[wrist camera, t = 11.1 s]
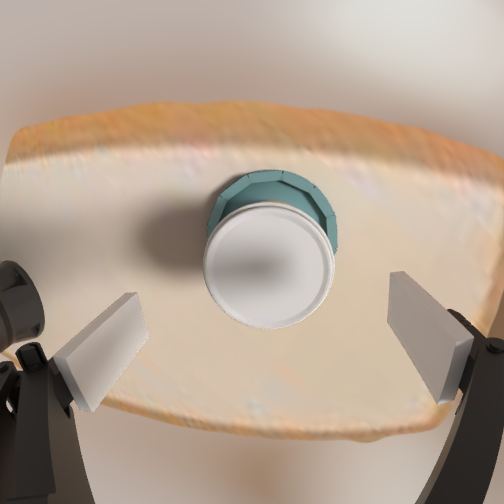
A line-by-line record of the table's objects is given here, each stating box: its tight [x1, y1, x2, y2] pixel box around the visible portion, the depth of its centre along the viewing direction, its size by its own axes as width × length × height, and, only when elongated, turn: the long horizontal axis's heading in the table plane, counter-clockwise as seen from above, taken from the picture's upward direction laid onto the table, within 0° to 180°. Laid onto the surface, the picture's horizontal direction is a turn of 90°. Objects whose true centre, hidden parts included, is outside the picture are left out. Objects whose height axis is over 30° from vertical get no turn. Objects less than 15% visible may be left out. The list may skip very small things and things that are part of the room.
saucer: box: [207, 170, 338, 255], centre depth 31 cm, size 14×14×2 cm
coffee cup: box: [203, 200, 334, 329], centre depth 25 cm, size 9×9×12 cm
